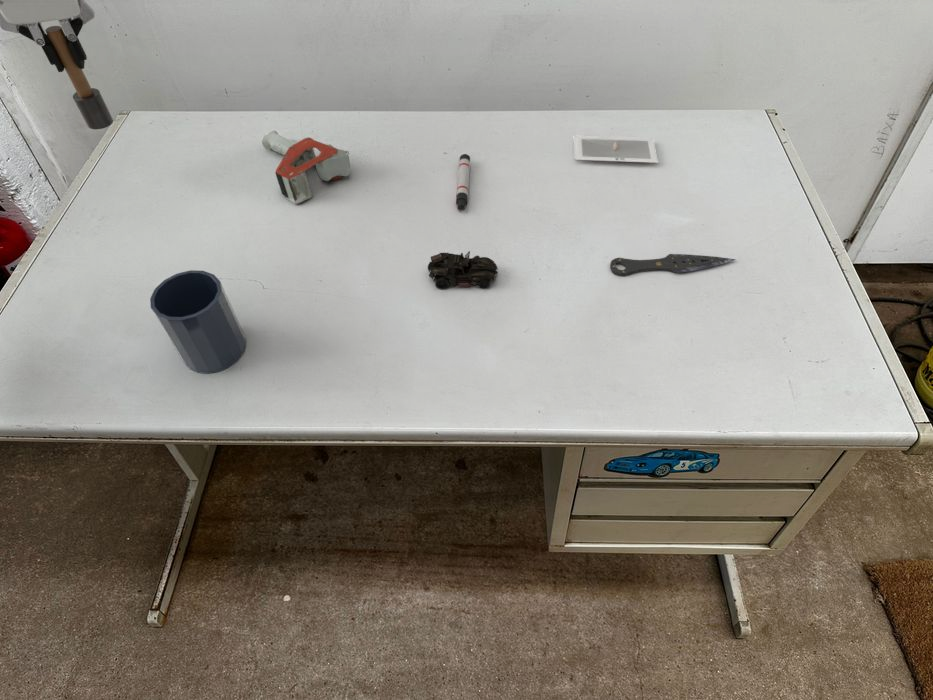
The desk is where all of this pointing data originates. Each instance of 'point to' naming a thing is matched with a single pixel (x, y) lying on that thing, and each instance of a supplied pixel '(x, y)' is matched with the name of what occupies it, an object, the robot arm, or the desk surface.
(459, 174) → the marker
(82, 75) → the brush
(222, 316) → the pen cup
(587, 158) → the touchpad
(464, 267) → the toy car
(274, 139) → the tape dispenser
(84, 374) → the desk surface
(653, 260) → the throwing knife
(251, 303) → the desk surface
